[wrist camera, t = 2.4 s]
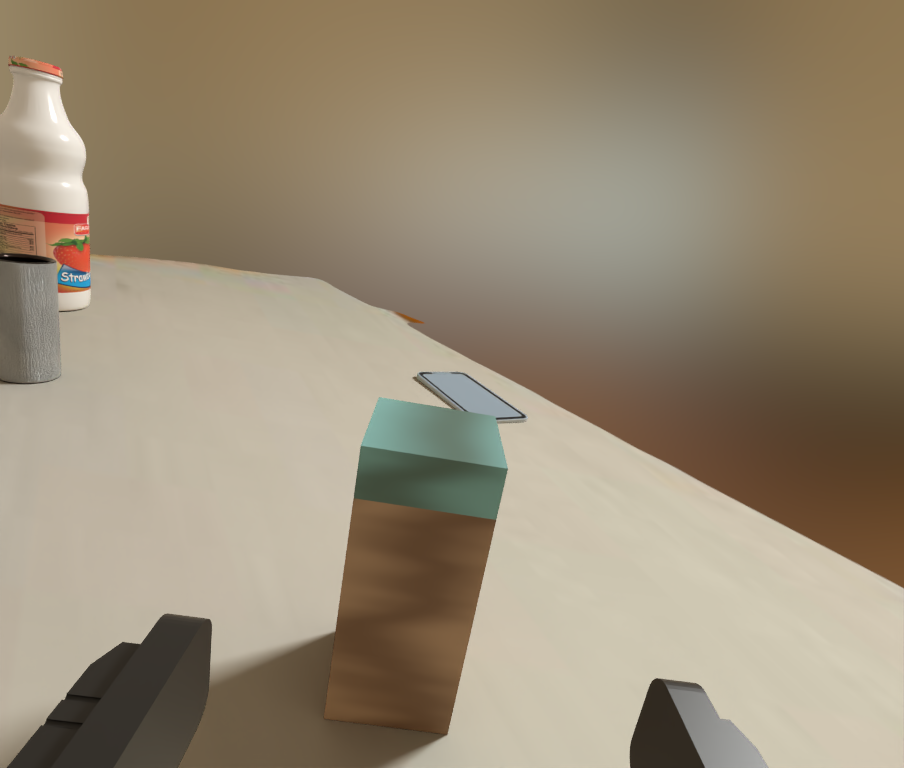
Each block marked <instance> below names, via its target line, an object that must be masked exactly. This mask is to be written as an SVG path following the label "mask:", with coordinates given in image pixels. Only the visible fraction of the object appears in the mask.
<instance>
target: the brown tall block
mask: <svg viewBox="0 0 904 768" xmlns="http://www.w3.org/2000/svg"><path fill="white" fill-rule="evenodd" d="M507 470H508V468H507V463H506V459H505V455H504V451H503V446H502V442H501V438H500V434H499V429H498V425H497V421H496V417H495V416H491V415H485V414H479V413H473V412H466V411H460V410H454V409H448V408H442V407H436V406H430V405H423V404H417V403H411V402H405V401H399V400H393V399H387V398H380V397H379V399H378V402H377V404H376V407H375V410H374V412H373V415H372V418H371V420H370V423H369V425H368V428H367V431H366V433H365V436H364V439H363V441H362V444H361V449H360V456H359V463H358V471H357V478H356V485H355V493H354V500H353V507H352V515H351V522H350V529H349V537H348V544H347V551H346V559H345V566H344V573H343V581H342V588H341V595H340V603H339V610H338V617H337V625H336V632H335V639H334V647H333V654H332V661H331V669H330V676H329V683H328V691H327V698H326V705H325V713H324V719H329V720H337V721H345V722H353V723H361V724H368V725H376V726H384V727H392V728H400V729H408V730H416V731H424V732H431V733H439V734H448V729H449V725H450V721H451V716H452V712H453V707H454V703H455V699H456V694H457V690H458V685H459V681H460V677H461V672H462V668H463V663H464V659H465V655H466V650H467V646H468V641H469V637H470V633H471V628H472V624H473V619H474V615H475V611H476V606H477V602H478V597H479V593H480V589H481V584H482V580H483V575H484V571H485V567H486V562H487V558H488V553H489V549H490V545H491V540H492V536H493V531H494V527H495V523H496V518H497V514H498V509H499V505H500V501H501V496H502V492H503V487H504V483H505V479H506V474H507Z"/></svg>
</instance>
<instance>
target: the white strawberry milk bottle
mask: <svg viewBox="0 0 904 768" xmlns="http://www.w3.org/2000/svg"><path fill="white" fill-rule="evenodd" d="M9 66H10V67H9V68H10V72H11V73H12V74H13V89H12V93H11V97H10V100H9V103H8V105H7V107H6V109H5V110H4V112H3V113H2V114H1V115H0V253H19V254H30V255H38V256H44V257H48V258H52V259H54V260H56V262H57V278H58V303H59V311H70V310H78V309H83V308H86V307H87V306H88V305H89V303H90V298H91V287H90V245H89V205H88V195H87V190H86V188H85V186H84V183H83V180H82V172H83V168H84V165H85V162H86V150H85V146H84V143H83V141H82V139H81V138H80V136H79V135H78V134H77V132H76V131H75V130H74V128H73V127H72V125H71V124H70V122H69V120H68V119H67V115H66V113H65V110H64V107H63V105H62V101H61V96H60V85H61V84H62V79H63V74H62V70H61V69H60V68H58V67H56V66H53V65H50V64H47V63H43V62H39V61H36V60H32V59H28V58H23V57H17V56H10V57H9Z"/></svg>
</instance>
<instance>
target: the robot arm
mask: <svg viewBox="0 0 904 768" xmlns="http://www.w3.org/2000/svg"><path fill="white" fill-rule="evenodd" d="M211 635H212V624H211V620H210V619H205V618H198V617H190V616H182V615H174V614H165V615H163V616H162V617H161V618H160V619H159V620H158V621H157V623H156V624H155V626H154V627H153V628H152V630H151V631H150V632H149V634H148V635H147V636H146V638H145V639H144V641H143V642H142V643H141V644H134V643H126V642H122V643H121V644H119V645H118V646H116V647H115V648H113V649H112V650H111V651H109V652H108V653H106V654H105V655H103V656H102V657H101V658H99V659H98V660H96V661H95V662H94V663H92V664H91V665H90V666H89V667H88V668H87V669H86V671H85V672H84V673H83V674H82V676H81V677H80V678H79V679H78V681H77V682H76V683H75V684H74V685H73V687H72V688H71V689H70V690H69V692H68V693H67V695H66V698H65V700H61V702H60V703H59V704H58V705H57V706H56V708H55V709H54V710H53V711H52V713H51V714H50V715H49V716H48V718H47V719H46V723H45V724H44V726H42V725H41V726H40V727H39V729H38V730H37V731H36V732H35V734H34V735H33V736H32V737H31V739H30V740H29V741H28V742H27V744H26V745H25V746H24V747H23V748H22V750H21V751H20V752H19V753H18V755H17V756H16V757H15V758H14V760H13V761H12V762H11V763H10V764H9V766H8V767H7V768H178V766H179V764H180V762H181V760H182V758H183V756H184V754H185V752H186V750H187V748H188V746H189V744H190V742H191V740H192V738H193V736H194V734H195V732H196V730H197V727H198V725H199V723H200V720H201V717H202V715H203V712H204V708H205V705H206V701H207V696H208V691H209V677H210V656H211ZM630 767H631V768H768V766H767V764H766V763H765V761H764V759H763V758H762V756H761V754H760V753H759V751H758V749H757V748H756V747H755V746H754V745H753V744H752V743H751V742H750V741H749V740H748V739H747V738H746V736H745V735H744V734H743V733H742V732H741V731H740V730H739V729H738V728H737V727H736V726H735V725H734V724H733V723H732V722H731V721H730V720H725V719H720V718H719V716H718V714H717V712H716V710H715V709H714V707H713V705H712V703H711V701H710V700H709V698H708V696H707V694H706V692H705V691H704V689H703V688H702V687H701V686H700V685H698V684H696V683H690V682H682V681H674V680H666V679H658V678H656V679H654V680H653V681H652V682H651V684H650V686H649V689H648V692H647V695H646V698H645V701H644V704H643V707H642V710H641V713H640V716H639V719H638V722H637V725H636V728H635V731H634V734H633V737H632V740H631V745H630Z"/></svg>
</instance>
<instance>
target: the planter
mask: <svg viewBox="0 0 904 768" xmlns="http://www.w3.org/2000/svg"><path fill="white" fill-rule="evenodd" d="M60 375H61V353H60V328H59V303H58V278H57V262H56V260H54V259H52V258H48V257H44V256H38V255H30V254H19V253H0V379H1V380H4V381H7V382H13V383H39V382H46V381H50V380H53V379H56V378H58V377H59V376H60Z"/></svg>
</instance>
